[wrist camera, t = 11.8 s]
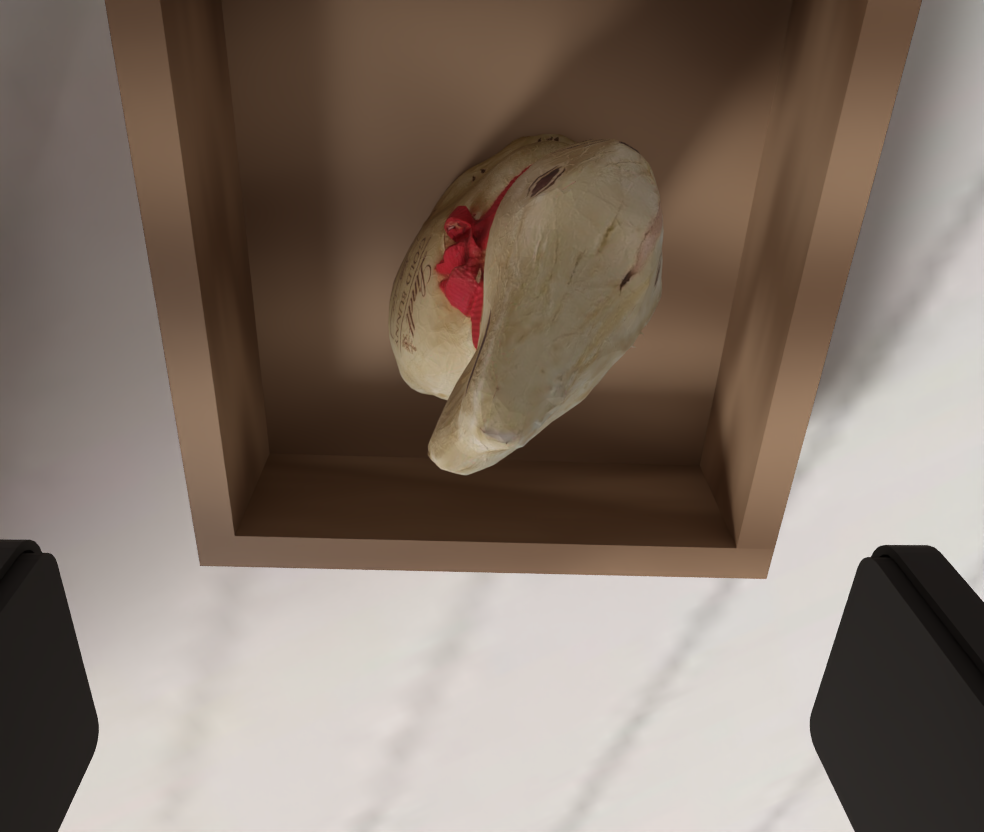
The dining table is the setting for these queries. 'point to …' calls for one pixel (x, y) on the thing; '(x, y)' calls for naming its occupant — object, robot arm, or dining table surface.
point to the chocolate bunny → (526, 290)
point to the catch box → (406, 206)
